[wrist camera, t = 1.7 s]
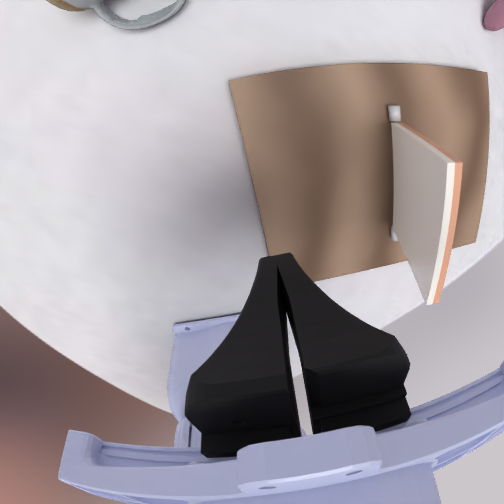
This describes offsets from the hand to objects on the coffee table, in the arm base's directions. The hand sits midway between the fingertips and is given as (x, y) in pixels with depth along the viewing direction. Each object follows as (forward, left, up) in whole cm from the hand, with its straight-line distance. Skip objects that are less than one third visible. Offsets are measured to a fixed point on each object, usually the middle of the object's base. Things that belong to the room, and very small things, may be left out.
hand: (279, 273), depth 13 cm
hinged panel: (+8, 0, -4) cm, 9 cm away
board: (+9, 0, -9) cm, 13 cm away
